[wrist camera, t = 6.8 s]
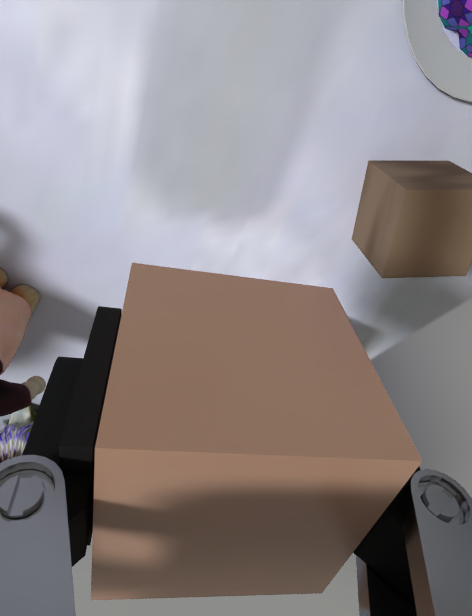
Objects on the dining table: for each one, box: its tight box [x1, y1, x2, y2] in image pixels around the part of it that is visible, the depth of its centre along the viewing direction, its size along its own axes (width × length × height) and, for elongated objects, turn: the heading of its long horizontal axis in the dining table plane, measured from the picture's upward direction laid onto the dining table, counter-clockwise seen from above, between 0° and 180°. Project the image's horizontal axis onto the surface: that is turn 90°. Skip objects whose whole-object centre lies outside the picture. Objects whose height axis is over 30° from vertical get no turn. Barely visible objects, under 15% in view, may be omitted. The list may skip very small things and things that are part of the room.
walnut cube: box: [352, 161, 472, 278], centre depth 24 cm, size 5×5×5 cm
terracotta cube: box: [91, 263, 422, 600], centre depth 10 cm, size 5×5×5 cm
